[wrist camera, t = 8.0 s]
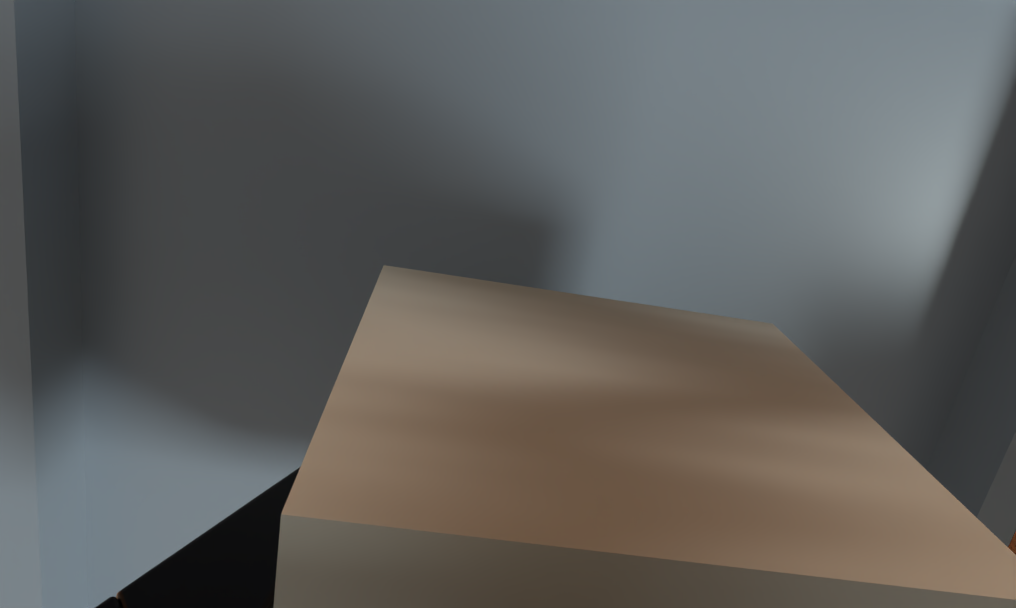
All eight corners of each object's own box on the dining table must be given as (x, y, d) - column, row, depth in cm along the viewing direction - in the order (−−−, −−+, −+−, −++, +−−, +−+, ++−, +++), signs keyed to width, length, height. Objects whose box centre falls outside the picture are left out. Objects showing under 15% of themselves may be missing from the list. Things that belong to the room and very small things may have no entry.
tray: (1151, -32, 11) (1292, -47, 9) (821, 750, 16) (866, 843, 14) (32, -268, 9) (-79, -346, 8) (65, 680, 15) (5, 774, 13)
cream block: (772, 323, 9) (1068, 605, 5) (677, 628, 11) (827, 1064, 6) (383, 265, 9) (279, 515, 4) (343, 593, 11) (238, 1034, 6)
